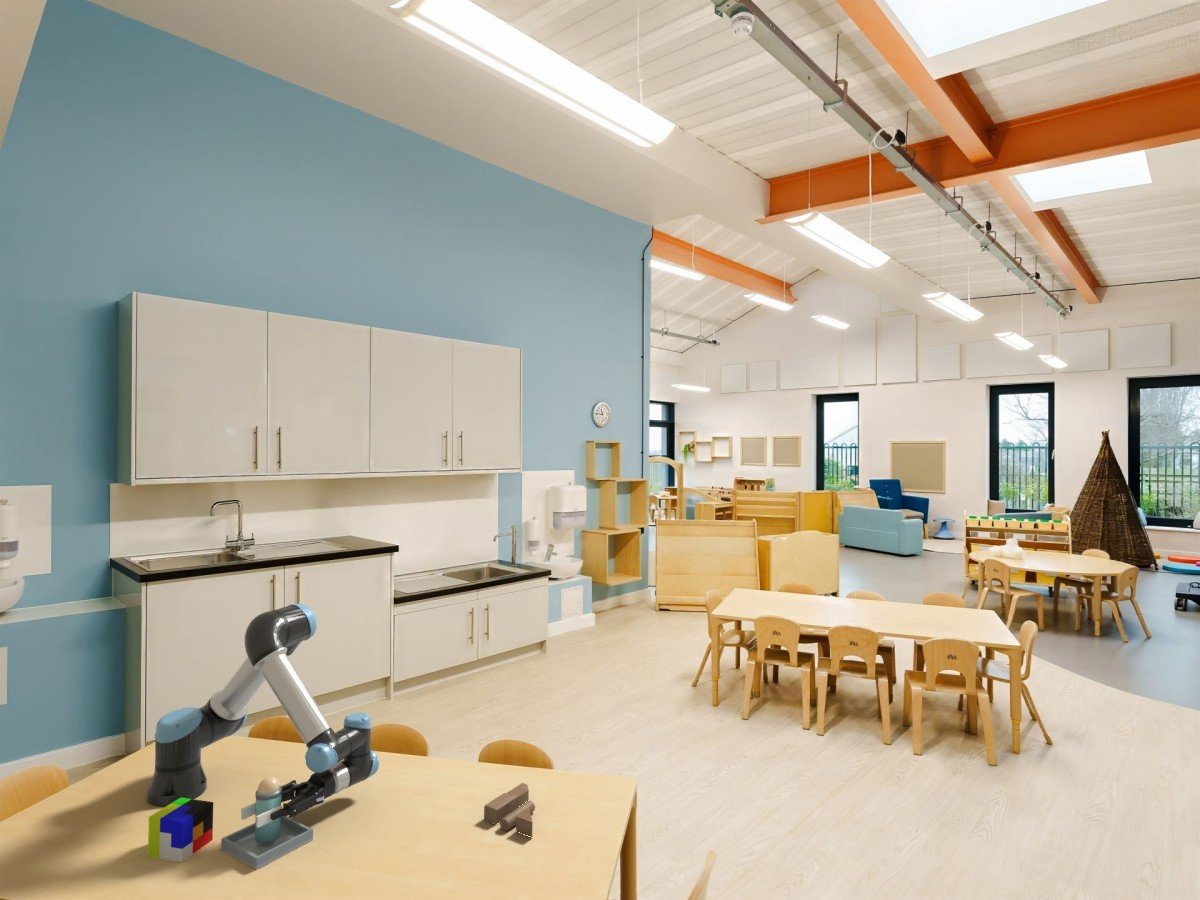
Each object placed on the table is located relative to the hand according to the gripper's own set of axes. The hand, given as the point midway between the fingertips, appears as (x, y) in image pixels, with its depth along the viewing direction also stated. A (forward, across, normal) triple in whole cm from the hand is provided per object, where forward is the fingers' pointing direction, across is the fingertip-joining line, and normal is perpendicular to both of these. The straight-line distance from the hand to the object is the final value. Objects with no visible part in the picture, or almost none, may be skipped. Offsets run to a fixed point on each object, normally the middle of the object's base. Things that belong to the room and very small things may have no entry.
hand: (249, 818), depth 173 cm
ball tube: (-5, 0, -7) cm, 9 cm away
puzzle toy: (+8, +17, -9) cm, 21 cm away
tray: (-5, 0, -9) cm, 11 cm away
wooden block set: (-53, -47, -10) cm, 72 cm away
